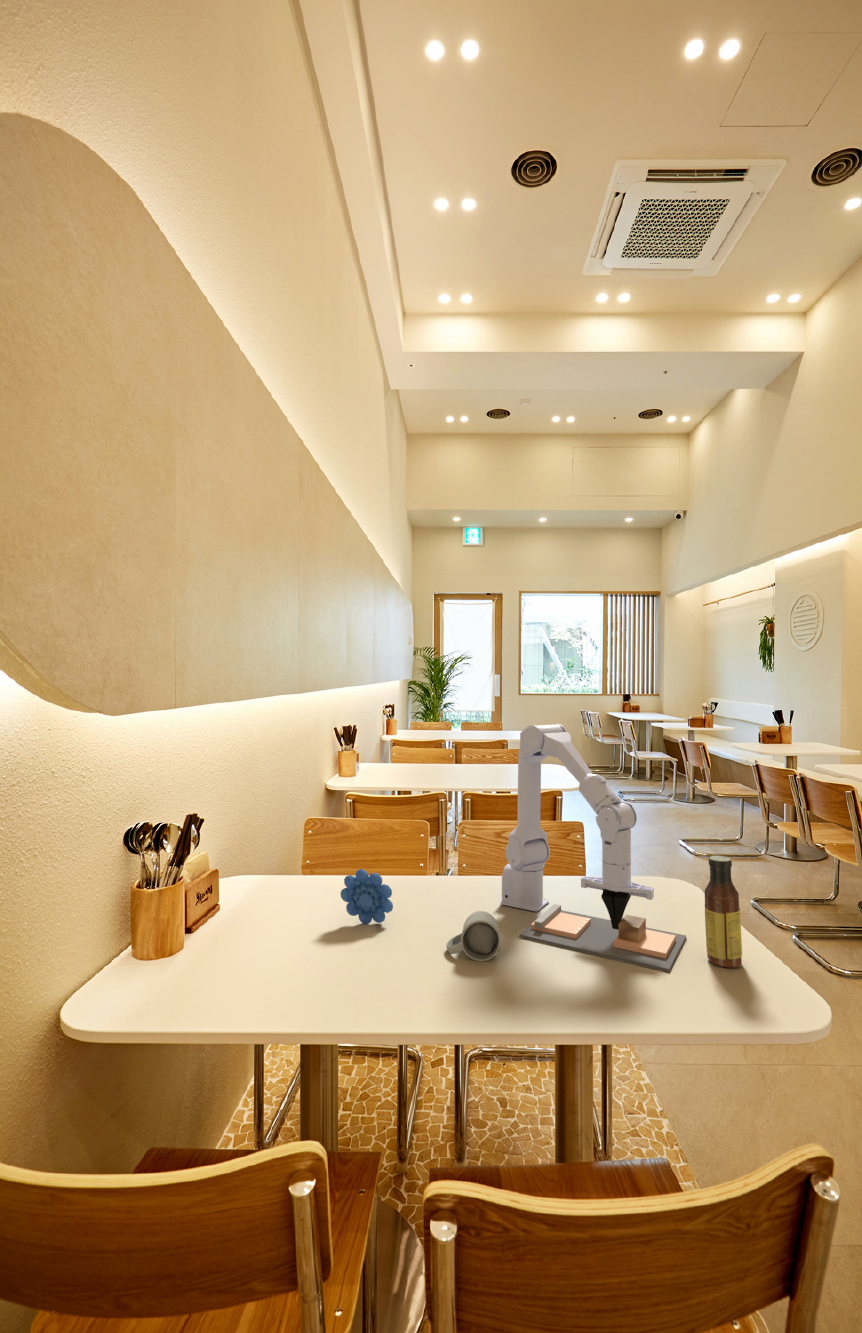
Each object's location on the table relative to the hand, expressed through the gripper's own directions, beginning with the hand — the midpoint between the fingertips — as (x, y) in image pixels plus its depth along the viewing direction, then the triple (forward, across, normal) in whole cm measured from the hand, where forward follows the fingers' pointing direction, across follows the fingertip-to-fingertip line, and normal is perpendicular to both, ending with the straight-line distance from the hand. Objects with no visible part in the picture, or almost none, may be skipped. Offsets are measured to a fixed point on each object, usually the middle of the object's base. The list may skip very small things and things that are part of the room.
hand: (616, 927), depth 130 cm
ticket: (+3, +12, 0) cm, 12 cm away
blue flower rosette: (+3, +49, +21) cm, 53 cm away
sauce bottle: (+3, -20, -1) cm, 20 cm away
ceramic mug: (+3, +22, +21) cm, 31 cm away
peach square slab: (+3, -6, 0) cm, 6 cm away
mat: (+3, +3, 0) cm, 4 cm away
